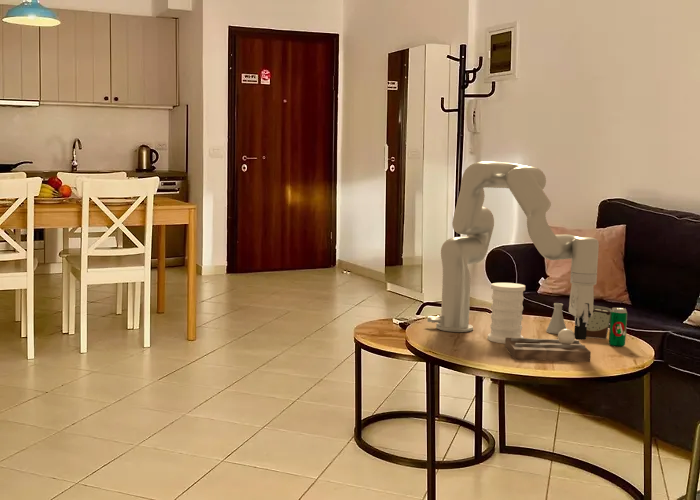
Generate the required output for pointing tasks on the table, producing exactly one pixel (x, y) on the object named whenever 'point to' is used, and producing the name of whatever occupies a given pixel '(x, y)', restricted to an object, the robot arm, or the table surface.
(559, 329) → the flask
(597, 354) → the table surface
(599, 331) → the food container
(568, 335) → the ball
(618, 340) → the soda can
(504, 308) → the decorative container
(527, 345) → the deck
